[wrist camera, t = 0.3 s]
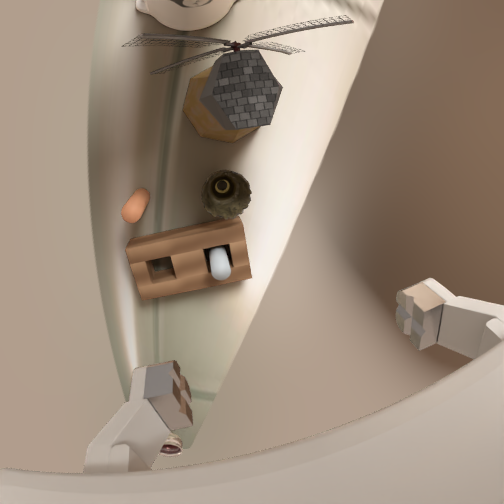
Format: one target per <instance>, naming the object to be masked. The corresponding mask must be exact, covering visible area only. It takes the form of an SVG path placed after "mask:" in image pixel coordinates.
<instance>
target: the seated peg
mask: <svg viewBox="0 0 504 504" xmlns="http://www.w3.org/2000/svg"><path fill="white" fill-rule="evenodd" d="M208 251H209V258H210V265H211V273H212V276H213V277H214V278H215V279H217V280H225V279H227V278H228V277H229V276H230V274H231V269H230V265H229V261H228V257H227V254H226V250H225V246H224V245H220V246H215V247H210V248H208Z"/></svg>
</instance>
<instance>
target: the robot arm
mask: <svg viewBox="0 0 504 504" xmlns="http://www.w3.org/2000/svg"><path fill="white" fill-rule="evenodd" d="M235 1H236V0H143V1H142V0H136V9H137V10H138V11H140V12H143V13H146V14H150V15H152V16H153V17H155V18H156V19H157V20H158V21H159V22H160V23H162V24H163V25H165V26H167V27H170V28H173V29H177V30H184V31H191V30H198V29H203V28H206V27H209V26H211V25H213V24H215V23H216V22H218V21H219V20H221V19H222V18H223V17H224V16H225V15H226V14H227V13H228V11H229V10H230V8H231V6H232V5H233V3H234V2H235ZM396 301H397V302H398V303H399V306H398V308H397V310H396V320H397V324H398V326H399V328H400V329H401V331H402V332H403V333H404V334H408V335H410V341H411V342H412V343H413V344H414V345H415V347H416V348H417V349H418V350H419V351H420V350H422V349H424V348H427V347H429V346H431V345H433V344H435V343H438V344H439V345H442V346H444V347H446V348H449V349H451V350H454V351H456V352H458V353H461V354H463V355H465V356H468V357H470V358H473V359H474V360H473V361H471V362H469V363H468V364H466V365H465V366H463V367H461V368H460V369H458V370H456V371H455V372H453V373H451V374H449V375H448V376H446V377H444V378H443V379H441V380H439V381H437V382H435V383H433V384H431V385H430V386H428V387H426V388H424V389H422V390H420V391H418V392H416V393H414V394H412V395H410V396H408V397H406V398H404V399H402V400H400V401H398V402H396V403H394V404H392V405H389V406H387V407H385V408H383V409H380V410H378V411H376V412H374V413H372V414H369V415H366V416H364V417H362V418H359V419H357V420H354V421H351V422H349V423H346V424H344V425H341V426H339V427H336V428H333V429H330V430H327V431H325V432H322V433H319V434H316V435H313V436H310V437H307V438H304V439H300V440H297V441H294V442H291V443H287V444H284V445H281V446H277V447H274V448H269V449H266V450H262V451H258V452H254V453H250V454H246V455H241V456H237V457H232V458H228V459H223V460H218V461H212V462H206V463H201V464H195V465H188V466H182V467H175V468H166V469H157V470H152V469H151V466H152V464H153V463H154V461H155V459H156V457H157V455H158V454H159V452H160V450H161V448H162V446H163V445H164V443H165V441H166V439H167V437H168V435H169V434H170V430H175V429H180V428H185V427H190V426H193V416H192V410H191V408H190V407H189V404H190V403H191V402H192V400H191V392H190V388H189V385H188V382H187V380H186V378H185V377H184V376H182V375H181V374H180V367H179V365H178V363H177V361H175V360H173V361H168V362H163V363H158V364H153V365H148V366H143V367H138V368H135V369H134V370H133V375H132V382H131V389H130V395H129V402H125V403H124V404H123V405H122V407H121V408H120V409H119V410H118V411H117V412H116V414H115V415H114V416H113V417H112V418H111V419H110V420H109V422H108V423H107V424H106V425H105V426H104V427H103V429H102V430H101V431H100V432H99V433H98V435H97V436H96V437H95V438H94V439H93V440H92V441H91V443H90V444H89V445H88V447H87V453H86V458H85V465H84V471H83V473H55V472H40V471H28V470H20V469H13V468H3V469H0V504H504V306H503V305H498V304H494V303H489V302H485V301H480V300H476V299H471V298H466V297H462V296H458V297H456V296H454V295H453V294H452V293H451V292H449V291H448V290H447V289H446V288H444V287H443V286H442V285H441V284H439V283H438V282H437V281H435V280H434V279H432V278H428V279H426V280H424V281H422V282H420V283H418V284H415V285H413V286H410V287H408V288H405V289H403V290H401V291H398V293H397V298H396Z"/></svg>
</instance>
